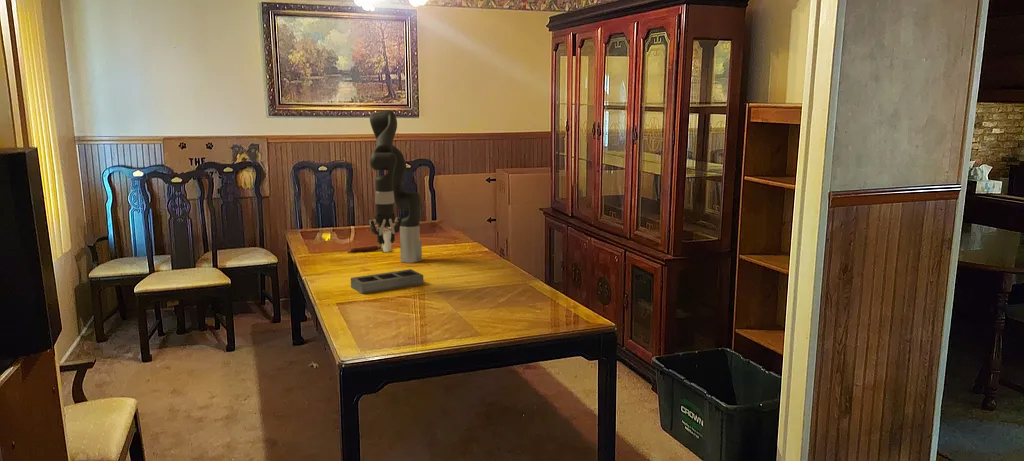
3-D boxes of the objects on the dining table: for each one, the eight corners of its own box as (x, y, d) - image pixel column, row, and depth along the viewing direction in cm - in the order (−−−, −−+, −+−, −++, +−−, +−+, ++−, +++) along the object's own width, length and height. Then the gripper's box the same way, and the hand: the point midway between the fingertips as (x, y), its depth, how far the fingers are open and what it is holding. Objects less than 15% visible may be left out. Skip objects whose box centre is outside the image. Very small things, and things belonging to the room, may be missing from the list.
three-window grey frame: (411, 278, 301) (410, 269, 301) (423, 284, 292) (423, 275, 291) (351, 287, 287) (350, 277, 286) (362, 294, 277) (361, 284, 276)
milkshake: (379, 250, 289) (378, 226, 287) (393, 249, 289) (391, 225, 287) (378, 252, 284) (377, 228, 282) (392, 252, 285) (390, 227, 283)
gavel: (347, 249, 346) (346, 245, 355) (348, 258, 347) (347, 253, 356) (389, 244, 351) (387, 240, 361) (390, 252, 352) (388, 248, 362)
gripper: (397, 199, 290) (398, 240, 293) (364, 202, 282) (366, 243, 285) (404, 201, 284) (405, 243, 287) (371, 204, 276) (373, 247, 279)
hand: (386, 243), depth 286 cm, fingers closed on milkshake, 4 cm apart
